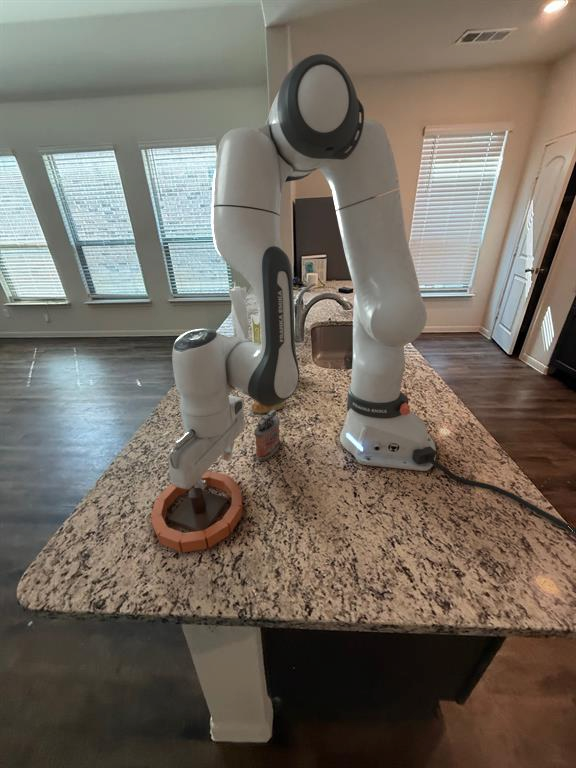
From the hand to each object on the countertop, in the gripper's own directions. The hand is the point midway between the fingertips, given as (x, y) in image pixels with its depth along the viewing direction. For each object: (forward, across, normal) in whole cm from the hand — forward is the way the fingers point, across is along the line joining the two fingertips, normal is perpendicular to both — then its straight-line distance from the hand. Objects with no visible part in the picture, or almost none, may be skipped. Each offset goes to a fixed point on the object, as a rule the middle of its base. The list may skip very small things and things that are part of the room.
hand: (215, 472), depth 65 cm
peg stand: (+3, -7, -1) cm, 8 cm away
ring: (+3, -7, -1) cm, 8 cm away
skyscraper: (+3, +71, +35) cm, 79 cm away
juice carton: (+3, +63, +20) cm, 66 cm away
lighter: (+3, +14, -6) cm, 15 cm away
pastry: (+3, +32, +3) cm, 32 cm away
